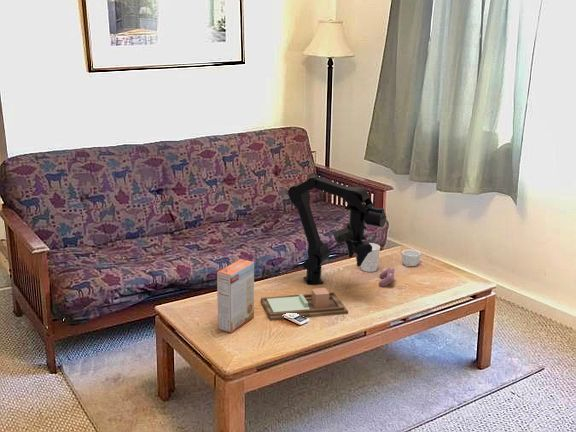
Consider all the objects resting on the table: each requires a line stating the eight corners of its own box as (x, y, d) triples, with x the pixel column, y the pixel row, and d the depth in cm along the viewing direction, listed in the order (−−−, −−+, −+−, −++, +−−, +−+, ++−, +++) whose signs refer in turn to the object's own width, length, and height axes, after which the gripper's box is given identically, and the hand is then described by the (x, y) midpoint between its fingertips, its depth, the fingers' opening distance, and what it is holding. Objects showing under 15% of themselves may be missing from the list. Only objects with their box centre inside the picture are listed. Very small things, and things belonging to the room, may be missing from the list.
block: (311, 302, 248) (312, 288, 247) (324, 301, 250) (325, 287, 248) (315, 308, 244) (315, 294, 242) (328, 307, 245) (329, 293, 243)
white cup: (381, 268, 283) (383, 245, 280) (373, 274, 276) (375, 251, 273) (364, 264, 287) (366, 241, 284) (355, 269, 280) (357, 246, 277)
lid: (266, 300, 247) (266, 294, 246) (301, 297, 250) (301, 292, 249) (273, 313, 237) (273, 307, 236) (309, 310, 240) (309, 304, 239)
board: (260, 300, 249) (260, 296, 249) (334, 295, 256) (334, 290, 255) (270, 320, 235) (270, 315, 234) (348, 313, 241) (348, 309, 241)
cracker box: (240, 313, 239) (240, 257, 232) (254, 318, 236) (255, 261, 230) (216, 329, 227) (216, 270, 221) (231, 334, 224) (231, 275, 218)
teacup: (409, 269, 282) (410, 257, 281) (396, 263, 288) (397, 251, 287) (427, 264, 288) (428, 252, 286) (413, 259, 294) (414, 247, 292)
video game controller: (387, 291, 264) (397, 277, 262) (377, 285, 264) (386, 271, 262) (388, 281, 274) (397, 267, 271) (378, 275, 274) (387, 262, 271)
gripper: (328, 215, 258) (326, 254, 263) (344, 231, 241) (341, 272, 246) (356, 214, 261) (353, 252, 265) (374, 230, 243) (371, 270, 248)
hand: (354, 261), depth 256 cm, fingers open, 9 cm apart
